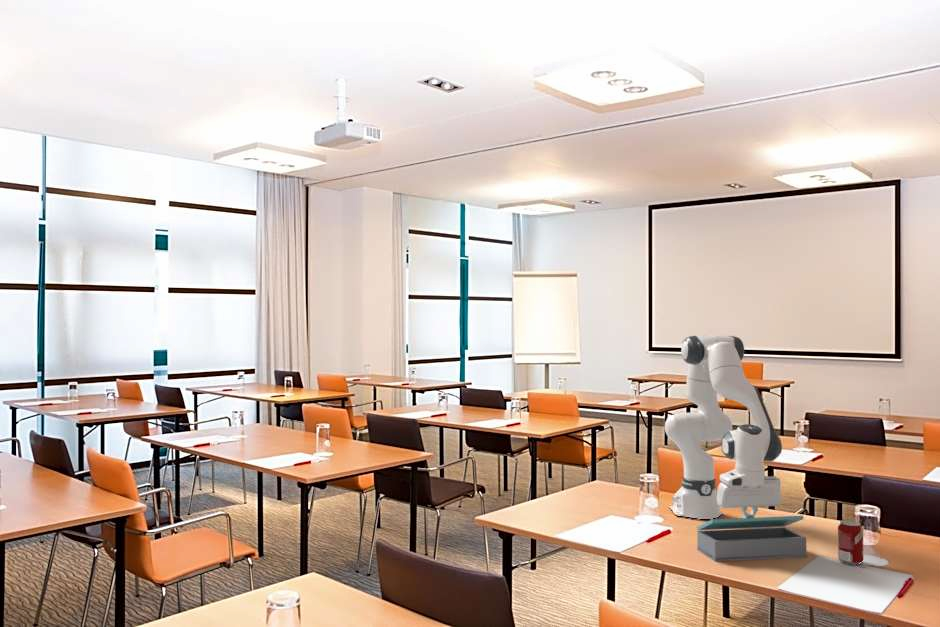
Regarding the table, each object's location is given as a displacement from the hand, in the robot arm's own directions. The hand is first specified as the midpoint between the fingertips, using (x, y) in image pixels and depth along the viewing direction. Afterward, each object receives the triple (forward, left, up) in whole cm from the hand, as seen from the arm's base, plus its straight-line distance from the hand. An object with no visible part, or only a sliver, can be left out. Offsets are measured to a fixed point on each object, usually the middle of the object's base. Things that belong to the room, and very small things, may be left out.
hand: (748, 519), depth 233 cm
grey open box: (+1, 0, -10) cm, 10 cm away
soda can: (+14, +25, -10) cm, 31 cm away
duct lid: (+1, 0, -1) cm, 1 cm away
